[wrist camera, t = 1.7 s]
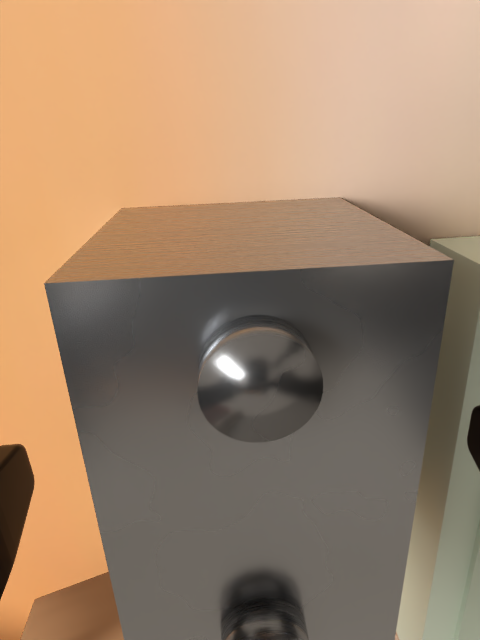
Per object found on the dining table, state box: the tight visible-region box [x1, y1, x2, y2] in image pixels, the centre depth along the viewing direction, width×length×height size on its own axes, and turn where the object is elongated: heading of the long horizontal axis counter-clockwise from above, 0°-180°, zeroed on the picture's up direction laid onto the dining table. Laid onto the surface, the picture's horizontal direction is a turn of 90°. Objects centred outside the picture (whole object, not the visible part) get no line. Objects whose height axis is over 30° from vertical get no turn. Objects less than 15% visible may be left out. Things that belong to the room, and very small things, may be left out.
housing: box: [44, 197, 454, 640], centre depth 10 cm, size 5×8×6 cm, turn 2°
